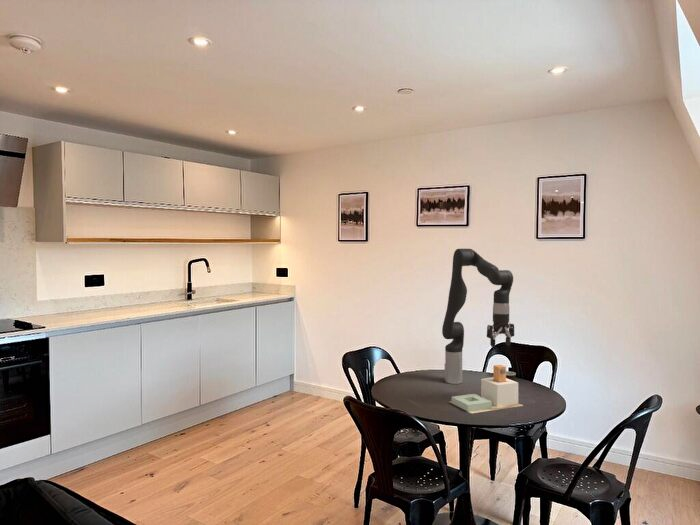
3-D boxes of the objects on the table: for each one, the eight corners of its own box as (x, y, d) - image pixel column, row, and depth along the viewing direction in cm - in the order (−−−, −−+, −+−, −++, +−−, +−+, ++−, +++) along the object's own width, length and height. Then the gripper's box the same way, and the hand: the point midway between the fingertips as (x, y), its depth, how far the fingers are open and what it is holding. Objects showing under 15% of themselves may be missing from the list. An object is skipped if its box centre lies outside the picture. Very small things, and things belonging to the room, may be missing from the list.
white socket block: (481, 399, 232) (481, 378, 232) (501, 396, 237) (501, 376, 236) (497, 406, 221) (497, 385, 221) (518, 403, 225) (518, 382, 225)
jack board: (448, 403, 229) (448, 401, 229) (498, 396, 240) (498, 394, 239) (471, 415, 212) (471, 413, 212) (523, 407, 223) (523, 405, 223)
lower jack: (451, 403, 227) (451, 396, 226) (474, 399, 231) (474, 393, 231) (467, 411, 214) (467, 405, 214) (491, 408, 219) (491, 401, 219)
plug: (493, 386, 230) (493, 365, 229) (500, 385, 231) (500, 364, 231) (499, 388, 225) (500, 367, 225) (506, 388, 227) (507, 367, 226)
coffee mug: (515, 390, 249) (515, 371, 249) (516, 395, 241) (516, 375, 241) (491, 389, 253) (492, 370, 252) (492, 393, 244) (492, 374, 244)
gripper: (507, 310, 233) (507, 343, 234) (483, 311, 228) (483, 345, 229) (518, 312, 226) (517, 346, 227) (493, 314, 221) (493, 349, 222)
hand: (500, 346), depth 228 cm, fingers open, 8 cm apart
